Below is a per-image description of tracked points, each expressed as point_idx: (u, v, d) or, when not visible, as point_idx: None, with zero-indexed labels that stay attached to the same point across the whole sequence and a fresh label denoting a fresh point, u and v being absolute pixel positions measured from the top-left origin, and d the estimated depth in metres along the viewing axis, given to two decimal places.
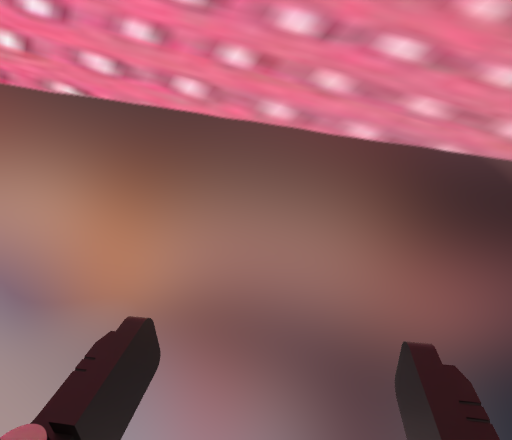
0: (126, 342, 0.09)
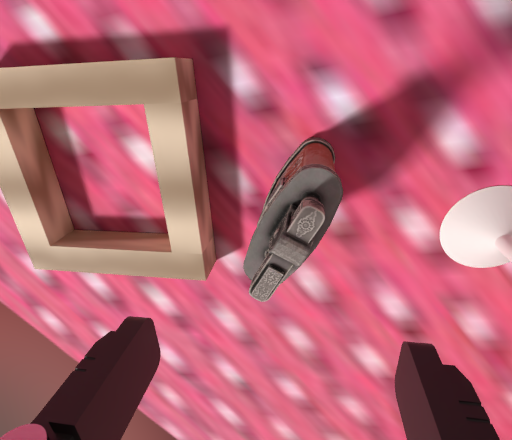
0: (126, 342, 0.09)
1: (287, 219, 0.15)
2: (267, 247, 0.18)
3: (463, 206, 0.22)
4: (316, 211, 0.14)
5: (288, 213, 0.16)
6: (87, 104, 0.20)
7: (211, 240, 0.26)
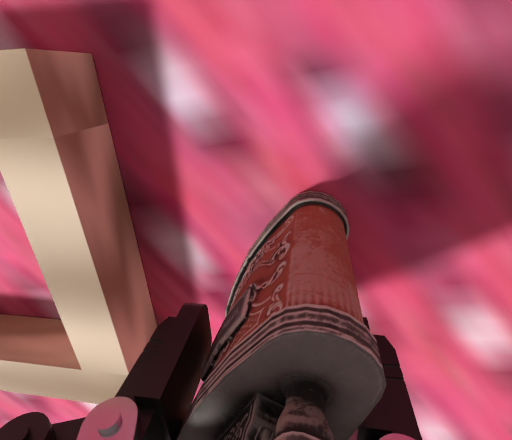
0: (189, 325, 0.10)
1: None
2: None
3: None
4: None
5: (248, 432, 0.06)
6: None
7: None
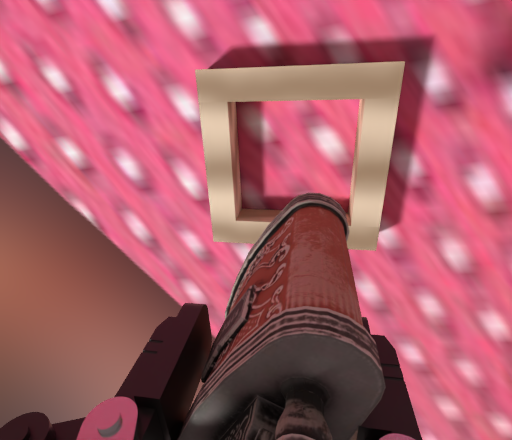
0: (189, 325, 0.10)
1: None
2: None
3: None
4: None
5: (248, 434, 0.06)
6: (313, 98, 0.25)
7: None
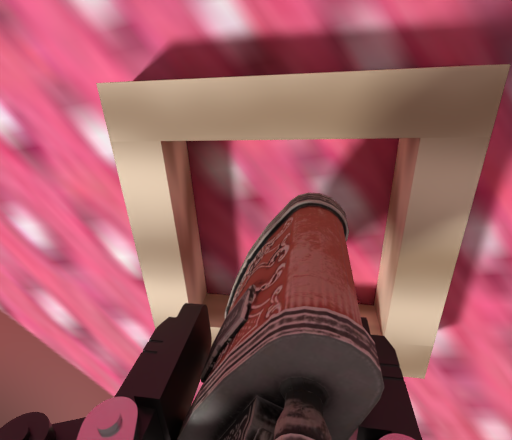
0: (189, 326, 0.10)
1: None
2: None
3: None
4: None
5: (247, 434, 0.06)
6: (318, 136, 0.13)
7: None
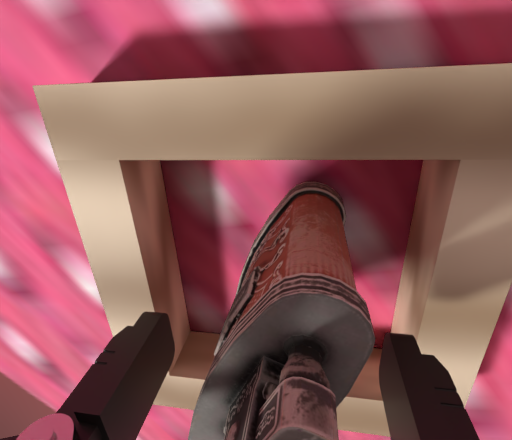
0: (144, 336, 0.09)
1: (252, 416, 0.07)
2: (227, 420, 0.09)
3: None
4: (317, 438, 0.05)
5: (256, 387, 0.07)
6: (323, 157, 0.10)
7: None
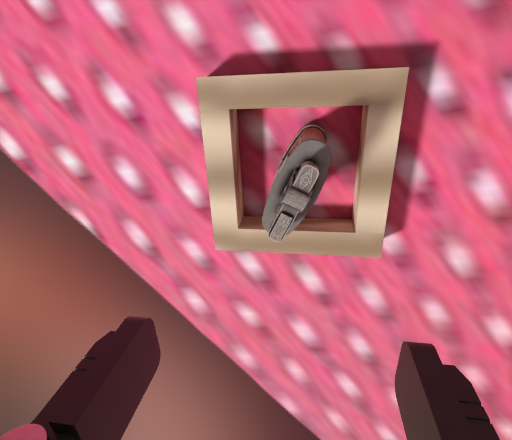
0: (126, 342, 0.09)
1: (292, 178, 0.21)
2: (279, 204, 0.24)
3: None
4: (313, 169, 0.20)
5: (293, 175, 0.22)
6: (316, 105, 0.24)
7: None
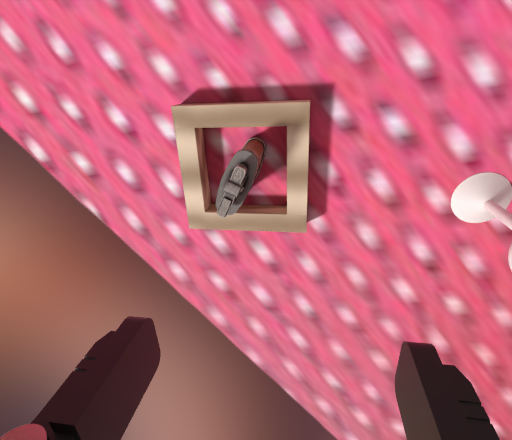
0: (126, 342, 0.09)
1: (231, 175, 0.33)
2: None
3: (465, 184, 0.37)
4: (241, 169, 0.31)
5: (232, 173, 0.33)
6: (252, 125, 0.36)
7: None
